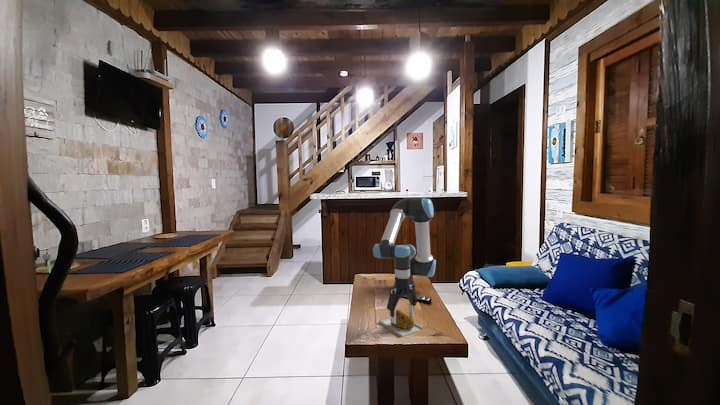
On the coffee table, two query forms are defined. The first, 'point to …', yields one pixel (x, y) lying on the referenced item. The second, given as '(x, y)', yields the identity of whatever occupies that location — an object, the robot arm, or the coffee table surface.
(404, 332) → the mat
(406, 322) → the rock
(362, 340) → the coffee table surface
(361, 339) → the coffee table surface
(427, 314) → the coffee table surface
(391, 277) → the coffee table surface
